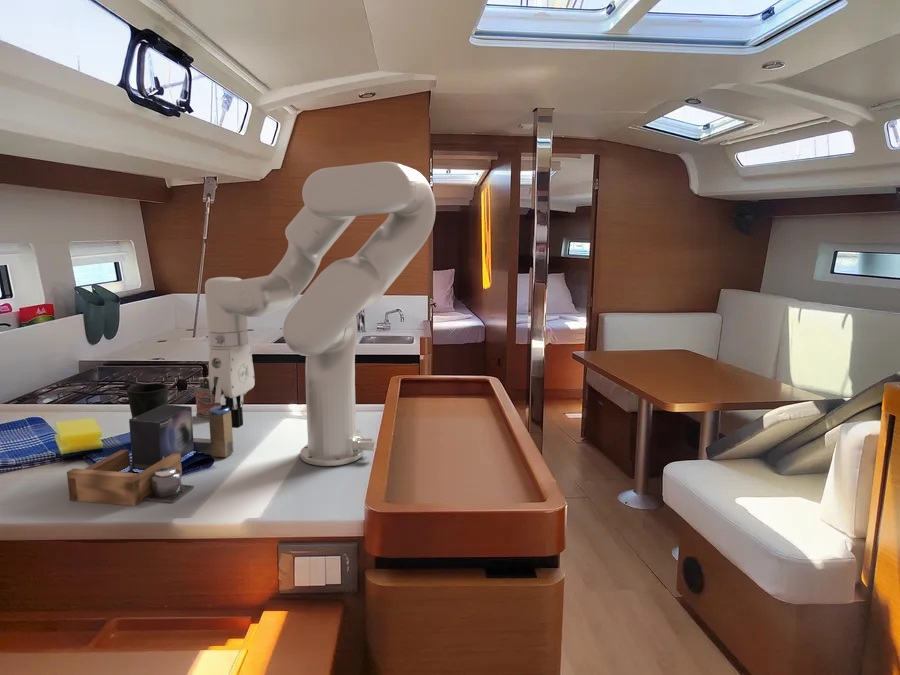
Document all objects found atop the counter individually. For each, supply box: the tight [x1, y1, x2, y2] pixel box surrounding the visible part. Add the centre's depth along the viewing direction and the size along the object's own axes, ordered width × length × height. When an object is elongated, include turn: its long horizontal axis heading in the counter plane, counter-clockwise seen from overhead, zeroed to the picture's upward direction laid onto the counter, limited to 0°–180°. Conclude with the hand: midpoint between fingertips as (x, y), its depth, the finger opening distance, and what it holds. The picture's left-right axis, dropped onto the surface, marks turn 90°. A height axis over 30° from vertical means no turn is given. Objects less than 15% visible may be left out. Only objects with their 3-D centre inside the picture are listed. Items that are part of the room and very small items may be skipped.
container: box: [193, 406, 234, 458], centre depth 120 cm, size 14×4×10 cm, turn 81°
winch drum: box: [142, 467, 195, 504], centre depth 102 cm, size 6×6×4 cm
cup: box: [126, 382, 169, 418], centre depth 126 cm, size 8×8×12 cm
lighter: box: [193, 375, 222, 421], centre depth 143 cm, size 8×3×10 cm, turn 73°
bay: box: [66, 449, 183, 507], centre depth 105 cm, size 12×13×5 cm
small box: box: [128, 403, 194, 470], centre depth 115 cm, size 11×6×10 cm, turn 170°
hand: (234, 426), depth 124 cm, fingers closed
